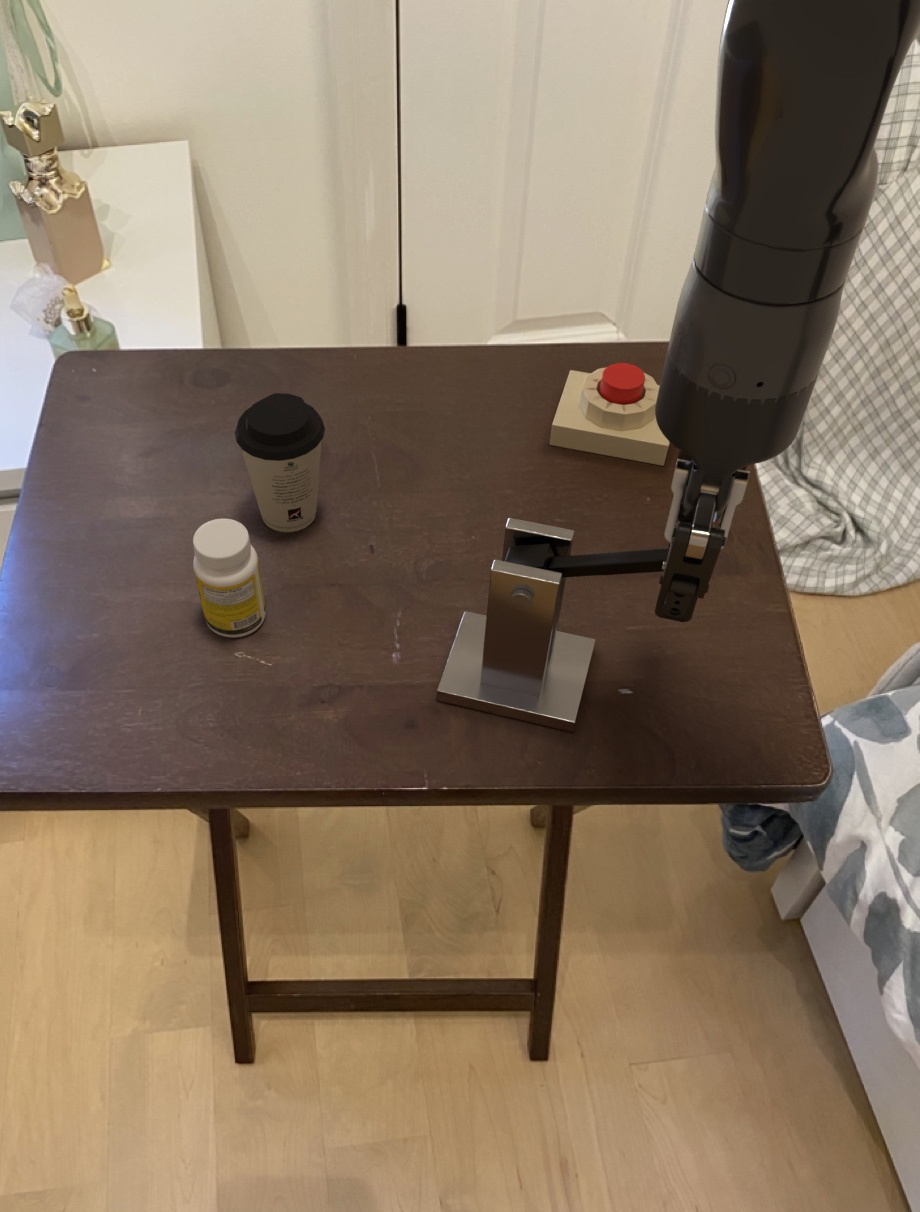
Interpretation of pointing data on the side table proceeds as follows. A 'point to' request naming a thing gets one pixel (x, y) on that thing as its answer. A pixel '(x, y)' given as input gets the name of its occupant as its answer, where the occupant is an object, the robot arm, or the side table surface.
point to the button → (622, 384)
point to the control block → (608, 421)
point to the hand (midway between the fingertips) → (679, 582)
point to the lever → (588, 561)
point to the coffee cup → (283, 459)
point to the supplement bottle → (228, 578)
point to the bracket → (520, 642)
